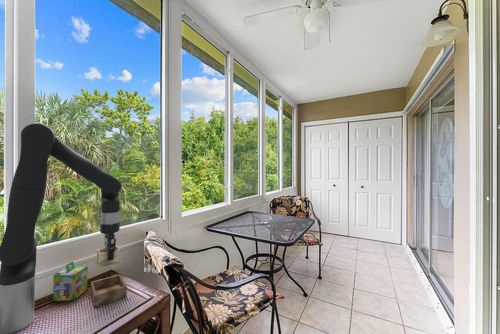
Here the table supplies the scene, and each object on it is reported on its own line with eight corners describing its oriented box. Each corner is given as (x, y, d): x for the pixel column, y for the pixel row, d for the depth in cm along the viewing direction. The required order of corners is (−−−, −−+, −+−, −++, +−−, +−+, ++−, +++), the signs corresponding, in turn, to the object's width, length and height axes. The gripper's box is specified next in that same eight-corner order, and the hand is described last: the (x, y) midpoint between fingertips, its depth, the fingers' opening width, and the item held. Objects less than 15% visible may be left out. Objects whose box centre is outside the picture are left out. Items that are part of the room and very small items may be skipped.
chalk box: (74, 301, 95) (75, 267, 95) (51, 301, 94) (52, 267, 94) (88, 289, 104) (89, 258, 104) (67, 289, 104) (68, 258, 104)
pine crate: (98, 267, 95) (98, 253, 95) (96, 262, 100) (97, 249, 100) (119, 262, 100) (119, 249, 100) (116, 258, 105) (117, 245, 105)
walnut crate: (94, 307, 91) (94, 296, 91) (90, 292, 102) (90, 281, 102) (126, 297, 99) (126, 286, 99) (119, 283, 110) (120, 274, 110)
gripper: (98, 219, 103) (97, 254, 103) (102, 226, 92) (101, 265, 92) (116, 217, 108) (115, 250, 108) (123, 223, 97) (121, 261, 97)
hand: (109, 257), depth 100 cm, fingers closed on pine crate, 6 cm apart
